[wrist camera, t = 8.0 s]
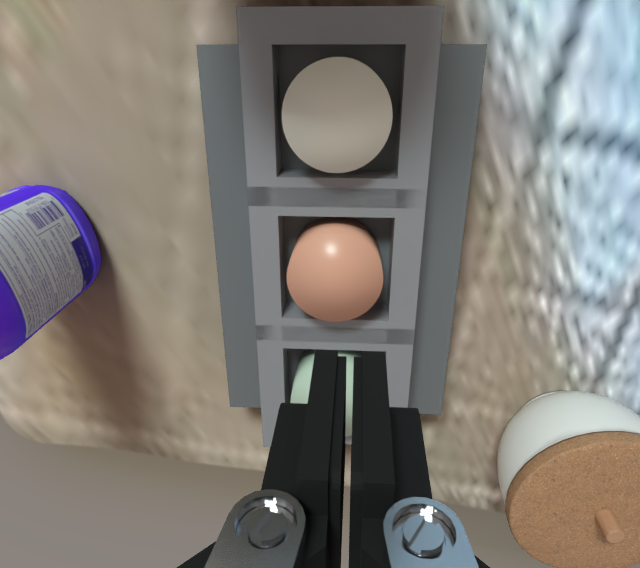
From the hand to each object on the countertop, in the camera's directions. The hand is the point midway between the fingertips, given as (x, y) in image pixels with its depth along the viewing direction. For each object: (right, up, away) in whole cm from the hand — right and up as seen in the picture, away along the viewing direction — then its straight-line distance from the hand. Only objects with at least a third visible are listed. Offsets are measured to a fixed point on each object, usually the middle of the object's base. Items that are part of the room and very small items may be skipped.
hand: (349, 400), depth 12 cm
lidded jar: (+16, -7, +25) cm, 31 cm away
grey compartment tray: (0, +6, +20) cm, 20 cm away
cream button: (0, +12, +13) cm, 18 cm away
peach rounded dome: (0, +4, +17) cm, 17 cm away
